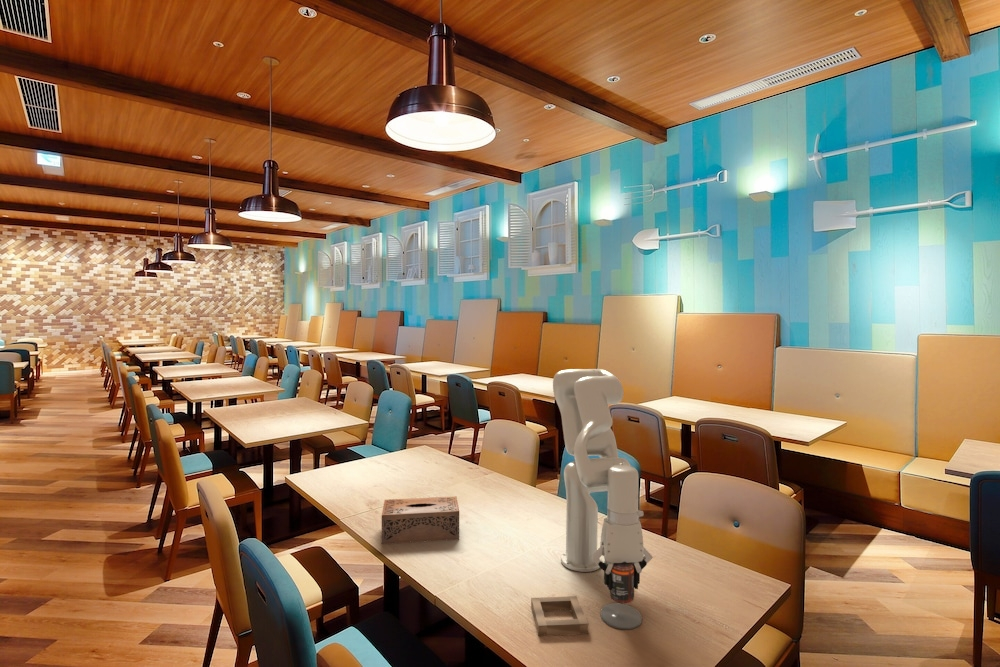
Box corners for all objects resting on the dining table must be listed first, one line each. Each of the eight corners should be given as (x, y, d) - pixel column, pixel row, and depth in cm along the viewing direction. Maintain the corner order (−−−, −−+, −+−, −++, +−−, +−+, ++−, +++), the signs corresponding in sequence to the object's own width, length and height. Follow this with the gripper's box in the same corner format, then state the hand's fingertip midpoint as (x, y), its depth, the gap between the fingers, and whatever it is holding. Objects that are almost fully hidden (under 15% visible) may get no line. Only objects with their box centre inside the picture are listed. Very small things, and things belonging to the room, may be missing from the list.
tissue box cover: (381, 544, 168) (381, 515, 168) (384, 527, 182) (384, 499, 182) (459, 540, 172) (459, 511, 172) (456, 523, 186) (456, 496, 186)
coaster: (596, 606, 133) (596, 603, 132) (633, 605, 133) (633, 602, 133) (607, 630, 123) (607, 627, 123) (647, 628, 123) (647, 625, 123)
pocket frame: (531, 607, 132) (531, 597, 132) (576, 605, 133) (576, 596, 133) (538, 636, 120) (538, 625, 120) (588, 633, 121) (588, 623, 121)
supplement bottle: (629, 592, 131) (630, 548, 130) (636, 604, 125) (637, 559, 124) (606, 592, 130) (607, 548, 130) (612, 605, 124) (613, 559, 124)
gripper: (650, 509, 132) (649, 578, 132) (585, 511, 130) (584, 580, 131) (661, 520, 124) (660, 593, 125) (592, 522, 123) (592, 596, 123)
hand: (621, 586), depth 128 cm, fingers closed on supplement bottle, 6 cm apart
